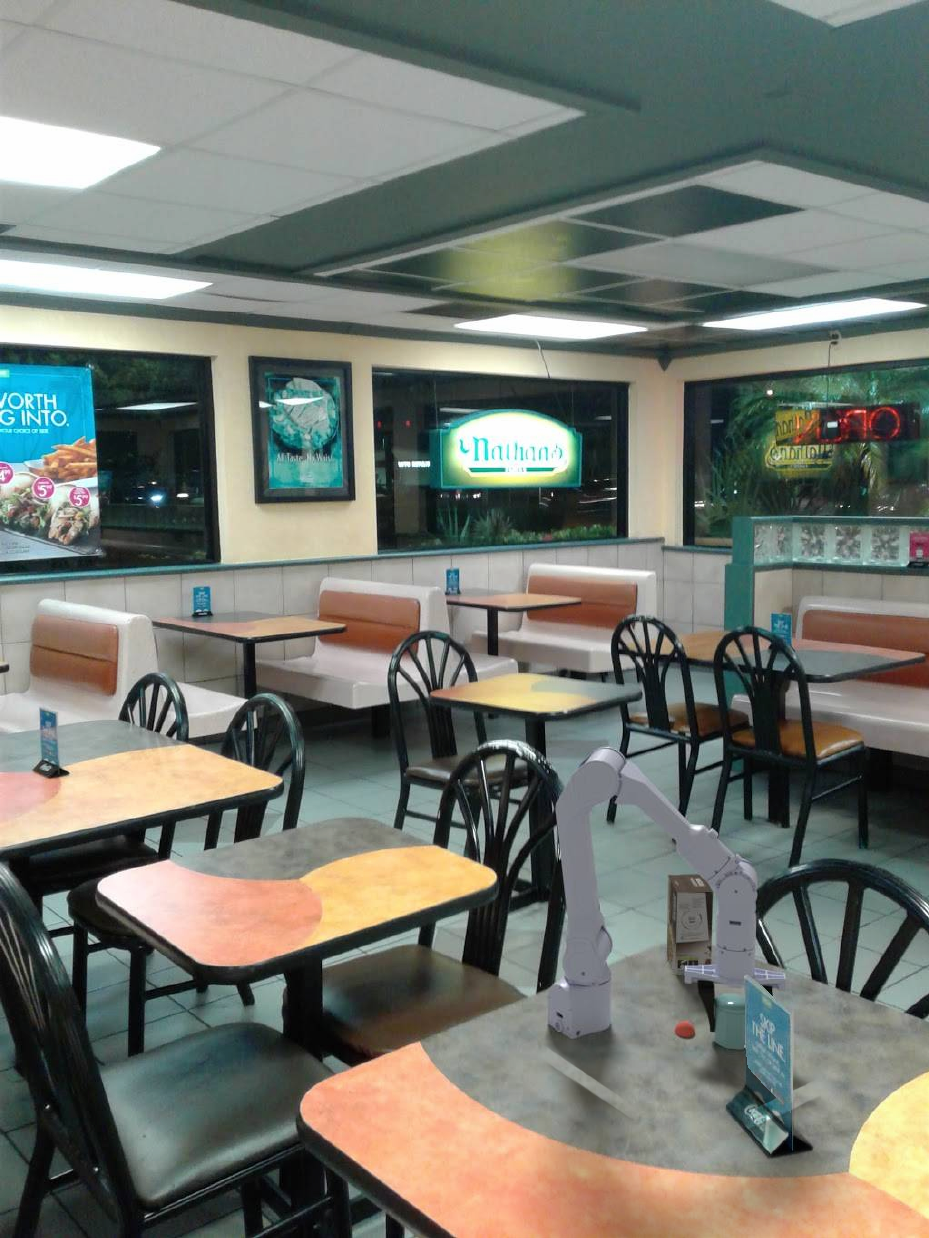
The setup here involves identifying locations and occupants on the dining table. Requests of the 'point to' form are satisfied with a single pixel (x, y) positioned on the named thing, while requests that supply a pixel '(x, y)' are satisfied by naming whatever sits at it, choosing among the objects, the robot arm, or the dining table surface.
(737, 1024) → the teal octagonal canister
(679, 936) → the coffee box
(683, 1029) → the red ball
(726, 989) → the white rounded cylinder
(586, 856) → the robot arm
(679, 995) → the dining table surface
